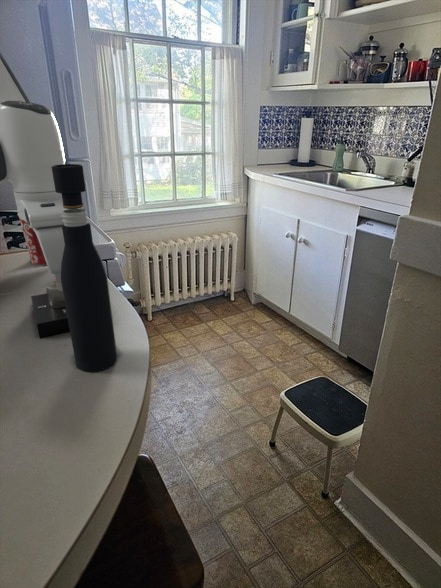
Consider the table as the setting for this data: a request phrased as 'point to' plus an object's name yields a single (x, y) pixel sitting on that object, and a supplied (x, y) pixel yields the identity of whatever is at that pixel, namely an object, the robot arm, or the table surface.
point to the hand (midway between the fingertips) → (59, 280)
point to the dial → (55, 295)
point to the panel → (49, 317)
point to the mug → (32, 244)
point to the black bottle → (83, 278)
